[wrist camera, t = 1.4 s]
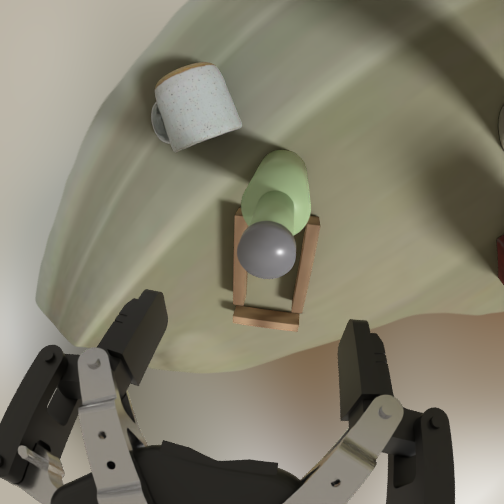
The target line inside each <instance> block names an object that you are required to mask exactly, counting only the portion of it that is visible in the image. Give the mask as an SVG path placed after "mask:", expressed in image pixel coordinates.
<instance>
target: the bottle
mask: <svg viewBox="0 0 504 504" xmlns="http://www.w3.org/2000/svg"><path fill="white" fill-rule="evenodd" d="M241 211H242V215H243V218H244V220H245V222H246V223H247V225H248V226H249V227H248V228H247V229H246V230H245V231H244V233H243V234H242V236H241V239H240V242H239V244H238V247H237V257H238V260H239V262H240V264H241V266H242V267H243V268H244V269H245V270H246V271H247V272H248V273H250V274H251V275H253V276H256V277H259V278H263V279H274V278H278V277H281V276H283V275H285V274H286V273H287V272H289V271H290V269H291V268H292V267H293V265H294V263H295V259H296V242H295V239H294V235H295V234H297V233H298V232H300V231H301V230H302V229H303V228H304V227H305V225H306V224H307V222H308V220H309V217H310V213H311V203H310V194H309V186H308V178H307V170H306V166H305V164H304V162H303V160H302V159H301V158H300V157H299V156H298V155H297V154H295V153H293V152H291V151H288V150H276V151H273V152H271V153H269V154H268V155H266V156H265V157H264V159H263V160H262V162H261V163H260V165H259V167H258V169H257V170H256V172H255V174H254V176H253V178H252V179H251V181H250V183H249V185H248V187H247V188H246V190H245V192H244V194H243V197H242V200H241Z"/></svg>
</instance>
